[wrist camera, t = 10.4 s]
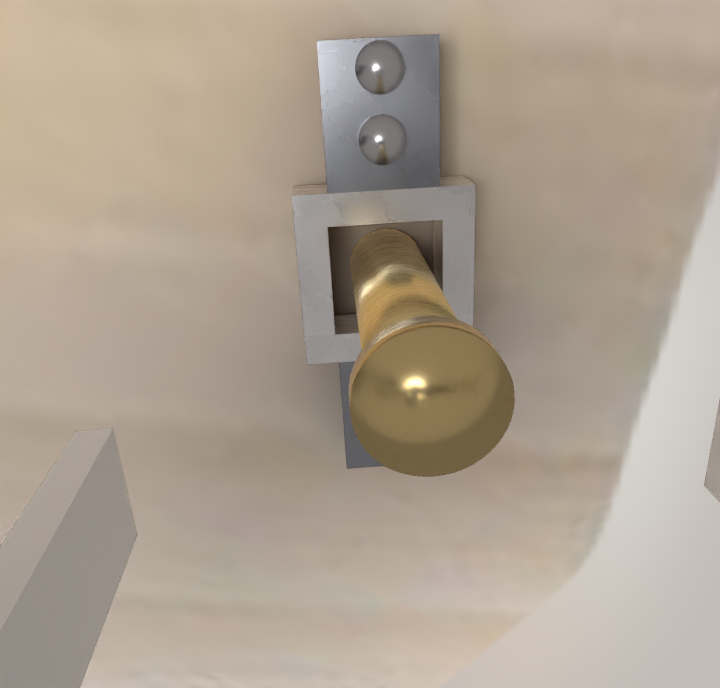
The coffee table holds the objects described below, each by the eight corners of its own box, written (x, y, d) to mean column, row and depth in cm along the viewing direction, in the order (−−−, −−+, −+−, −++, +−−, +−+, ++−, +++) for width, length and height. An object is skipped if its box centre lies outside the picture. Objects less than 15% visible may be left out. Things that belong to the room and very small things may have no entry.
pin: (342, 311, 30) (355, 482, 17) (335, 220, 28) (345, 335, 16) (433, 305, 30) (511, 470, 17) (432, 214, 28) (517, 324, 16)
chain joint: (461, 433, 33) (472, 464, 30) (317, 443, 32) (316, 475, 30) (464, 35, 26) (480, 31, 23) (281, 45, 25) (276, 42, 23)
